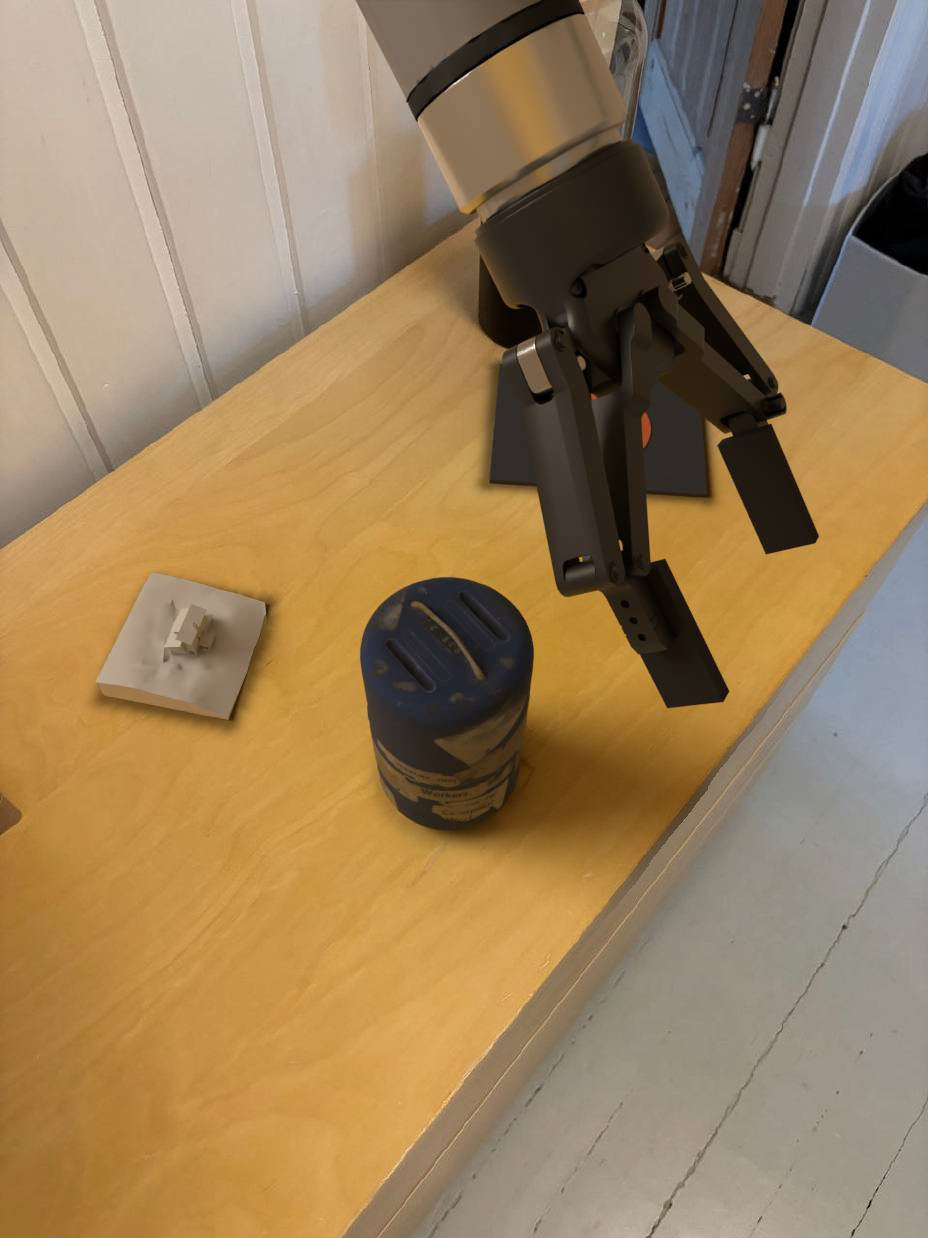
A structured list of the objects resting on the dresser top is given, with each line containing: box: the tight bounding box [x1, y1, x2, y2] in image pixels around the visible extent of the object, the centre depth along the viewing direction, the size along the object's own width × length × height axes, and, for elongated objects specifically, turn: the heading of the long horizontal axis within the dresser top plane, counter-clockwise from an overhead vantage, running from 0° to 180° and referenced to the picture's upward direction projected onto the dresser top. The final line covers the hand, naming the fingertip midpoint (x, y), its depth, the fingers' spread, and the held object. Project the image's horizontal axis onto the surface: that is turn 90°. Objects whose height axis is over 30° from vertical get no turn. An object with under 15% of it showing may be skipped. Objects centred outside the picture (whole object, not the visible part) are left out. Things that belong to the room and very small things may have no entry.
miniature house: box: [94, 571, 267, 721], centre depth 67 cm, size 12×11×4 cm
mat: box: [488, 363, 709, 498], centre depth 81 cm, size 18×14×1 cm
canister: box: [359, 576, 535, 831], centre depth 56 cm, size 10×10×18 cm
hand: (750, 615), depth 44 cm, fingers open, 13 cm apart
